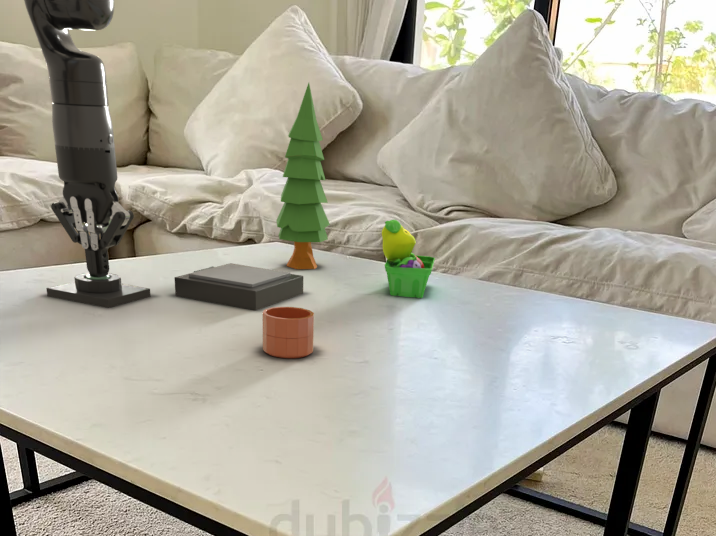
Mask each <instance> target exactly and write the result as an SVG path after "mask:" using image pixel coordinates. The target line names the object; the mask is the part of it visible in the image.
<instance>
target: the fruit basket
mask: <svg viewBox="0 0 716 536" xmlns="http://www.w3.org/2000/svg"><path fill="white" fill-rule="evenodd" d="M381 238H382V252H383V255H384V257H385V258H386V261H385V263H384V270H385V272H386V277H387V284H388V289H389V294H390V296H394V297H405V298H418V299H423V297H424V295H425V292H426V291H425V290H426V288H427V284H428V281H429V278H430V276H431V274H432V271H433V268H434V264H435V260H436V258H435V257H433V256H428V255H415V253H413V250H414V248H415V245H416V244H417V242H416V238H415V236H414V235H412V234H411V232H410V231H409V230H407V229H405V227H404V226H403V225H402V224H401V223H400V221H398V220H397V219H391V220H386V221H384V226H383V228H382V230H381Z"/></svg>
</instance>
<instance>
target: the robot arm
mask: <svg viewBox="0 0 716 536" xmlns="http://www.w3.org/2000/svg"><path fill="white" fill-rule="evenodd" d="M23 3H24V6H25V9H26V12H27V15H28V18H29V20H30V23H31V25H32V28H33V31H34V33H35V37H36V39H37V42H38V44H39V47H40V48H39V49H40V50H41V53H42V57H43V60H44V62H45V64H46V68H47V75H48V82H49V83H48V84H49V92H50V100H51V119H52V120H51V123H52V124H51V125H52V132H53V141H54V149H55V157H56V158H55V159H56V165H57V166H56V167H57V173H58V178H59V179H60V180H61V181H62V182H63V188H62V196H63V197H62V198H61V199H60V200H59V201H58V202H52V203H51V205H50V206H51V211H52V212H53V214H54V215H55V216H56V218H57V220H58V221H59V223H60V225H61V226H62V228H63V229H64V230H65V232H66V234H67V235H68V237H69V238H70V240H71V241H72V243H75V244H76V243H77V244H79V245H81V246H82V249H84V254H85V262H86V269H87V271H88V272H87V273H89V274H90V276H93V277H104V276H107V275H108V273H110V262H109V252H108V251H109V248H112V247H117V246H118V245H119V244H120V243H121V241H122V239H123V238H124V236H125V234H126V232H127V231H128V230H129V229H128V228H129V226H130V225H131V223H132V222H133V220H134V218H135V217H134V216H135V214H134V212H133V211H132V210H129V209H128V210H126V209H125V208H124V207H123V205H122V204H121V203H120V201H119V200H120V199H119V195H118V193H117V190H116V183H117V181H118V168H117V158H116V147H115V136H114V126H113V121H112V116H111V111H110V104H109V94H108V93H109V92H108V84H107V82H108V80H107V72H106V71H107V70H106V67H105V63H104V61H103V59H102V58H101V57H99V56H98V55H96V54H93V53H90V52H88V51H85V50H81V49H79V48H78V47H77V46H76V44H75V42H74V40H73V38H72V36H71V35H72V34H71V33H70V30H76V31H77V30H78V31H94V32H95V31H102V30H104V29H106V28H108V26H109V25H110V24H111V23H112V20H113V18H114V13H115V0H23Z"/></svg>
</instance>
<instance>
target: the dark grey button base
mask: <svg viewBox="0 0 716 536" xmlns="http://www.w3.org/2000/svg"><path fill="white" fill-rule="evenodd" d="M86 275H89V272H85V273H81V274H76V275H75V276H74V281H72V282H68V283H63V284H58V285H53V286H49V287H46V296H47V297H51V298H55V299H59V300H66V301H70V302H76V303H79V304H86V305H91V306H96V307H101V308H106V309H109V308H114V307H118V306H122V305H124V304H128V303H132V302H136V301H140V300H144V299H146V298H151V296H152V295H151V288H148V287H143V286H137V285H133V284H126V283H122V276H121V275H118V274H117V273H110V272H108V275H109V276H110V279H105V280H91V279H86Z"/></svg>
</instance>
